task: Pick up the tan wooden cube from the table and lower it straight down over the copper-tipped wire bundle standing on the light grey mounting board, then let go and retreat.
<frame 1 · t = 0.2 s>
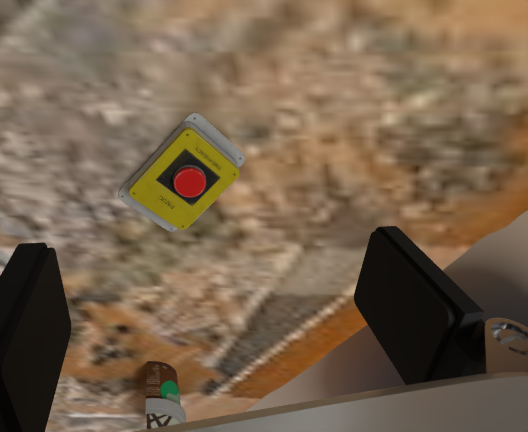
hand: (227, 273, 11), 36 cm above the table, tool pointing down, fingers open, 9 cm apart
food container: (165, 376, 66), on the table
emergency button: (182, 174, 49), on the table
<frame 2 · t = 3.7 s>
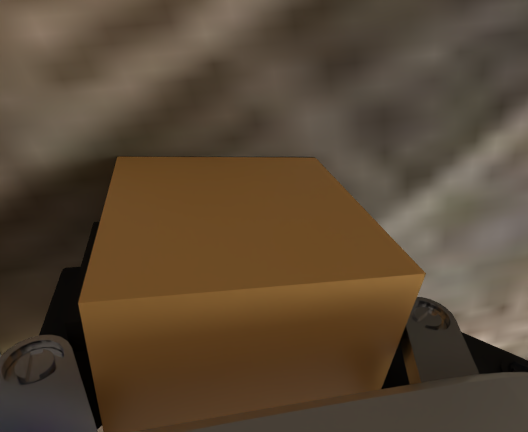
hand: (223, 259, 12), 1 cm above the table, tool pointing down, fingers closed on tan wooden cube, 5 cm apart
tan wooden cube: (219, 239, 13), on the table, touching gripper
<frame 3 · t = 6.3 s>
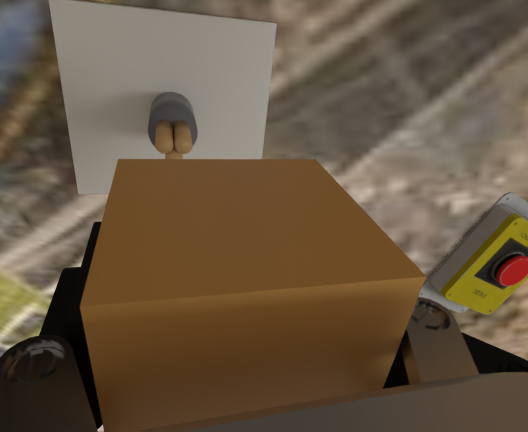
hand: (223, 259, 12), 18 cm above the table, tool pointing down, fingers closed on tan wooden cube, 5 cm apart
tan wooden cube: (219, 241, 13), point 17 cm above the table, touching gripper
emergency button: (478, 254, 43), on the table
board: (171, 105, 27), on the table
when the fingers open (6 cm above the table, at t = 9.0 s): tan wooden cube stays where it is, resting on board.
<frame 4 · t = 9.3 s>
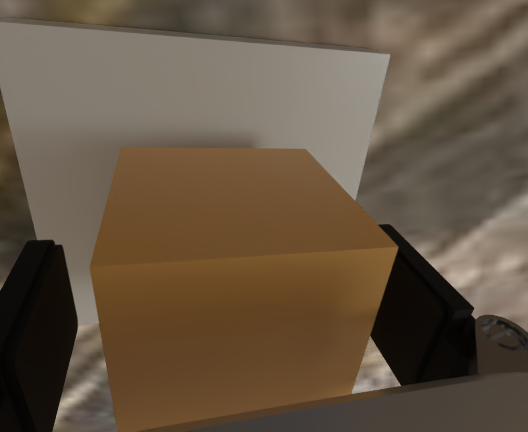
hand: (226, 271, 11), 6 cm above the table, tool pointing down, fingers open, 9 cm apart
tan wooden cube: (216, 226, 14), point 4 cm above the table, touching board
board: (205, 182, 17), on the table
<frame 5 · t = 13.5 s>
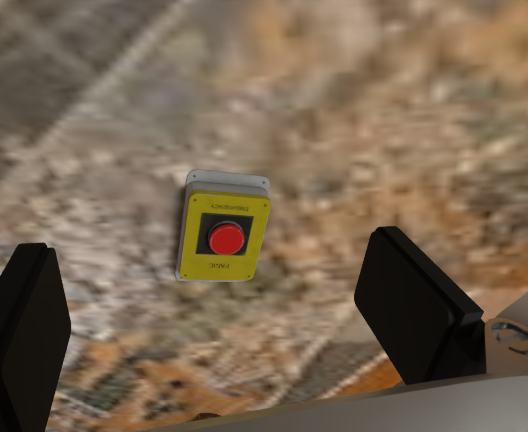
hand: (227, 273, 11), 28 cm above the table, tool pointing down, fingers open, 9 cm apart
food container: (216, 426, 64), on the table
emergency button: (219, 227, 45), on the table
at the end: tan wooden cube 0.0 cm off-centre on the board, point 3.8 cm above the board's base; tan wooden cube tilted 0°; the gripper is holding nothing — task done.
